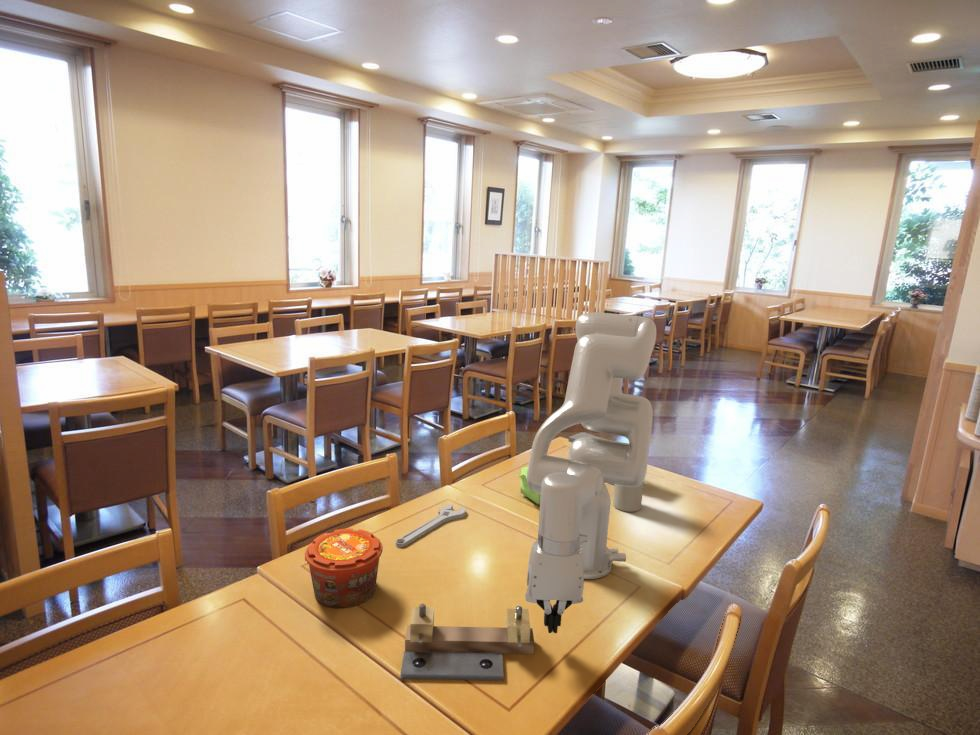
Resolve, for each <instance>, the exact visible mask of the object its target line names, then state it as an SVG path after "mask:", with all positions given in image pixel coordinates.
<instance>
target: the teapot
mask: <svg viewBox="0 0 980 735" xmlns="http://www.w3.org/2000/svg"><path fill="white" fill-rule="evenodd" d="M527 469H528V465H527V466H522V467H521V471H520V473H518V474H516V476H517V477H519V478H520V491H519V492H520V494H522V495H523V496H525V497H527V498H528V499H529V500H531V501H532V502H533V503H535V504H536V505H539V506H540V498H541V494H539V493H536V492H534V491H532V490H531V489H530V488H529V486H528V484H527Z"/></svg>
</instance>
